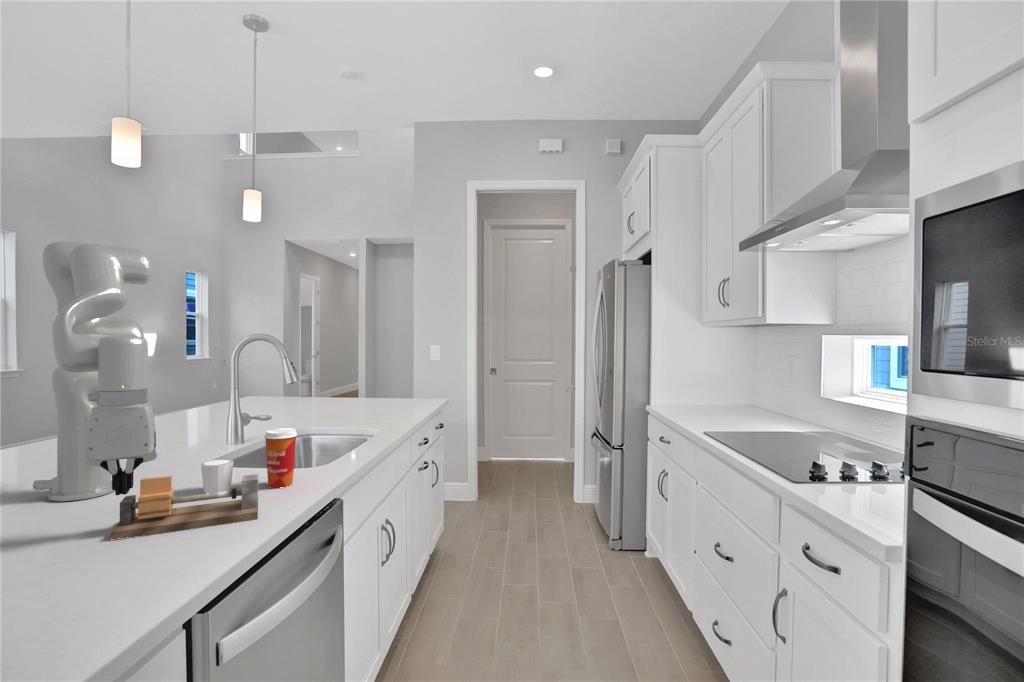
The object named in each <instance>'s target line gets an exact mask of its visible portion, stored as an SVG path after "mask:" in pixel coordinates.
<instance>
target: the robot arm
mask: <svg viewBox="0 0 1024 682" xmlns="http://www.w3.org/2000/svg"><path fill="white" fill-rule="evenodd" d="M42 264H43V265H42V267H43V270H44V273H45V277H46V280H47V281H48V283H49V285H50V287H51V289H52V292H53V293H54V294H53V295H54V296H55V298H56V303H57V315H56V316H55V318H54V320H53V324H52V333H51V334H52V341H53V342H52V343H53V351H54V356H55V357H54V358H55V361H56V364H57V365H58V366H57V367H56V368H55V369H54V371H53V373H52V376H51V377H52V378H51V382H52V383H51V384H52V388H53V394H54V399H55V406H56V423H57V425H56V426H57V427H56V430H57V432H56V437H57V438H56V442H57V443H56V446H57V447H56V451H57V452H56V453H57V454H56V455H57V456H56V460H57V461H56V463H57V464H56V477H55V476H54V477H52V478H51V479H40V480H33V483H32V488H33V490H36V491H41V490H50V491H49V492H48V493H47V499H48V500H49V501H53V502H72V501H80V500H86V499H92V498H97V497H102V496H105V495H108V494H111V493H113V492H115V493H114V495H115V496H120V495H127V494H128V493H129V491H130V490H131V489H133V488H134V471H135V470H136V469H137V468H138V467H139V466H140V465H141V464H144V463H148V462H152V461H155V460H156V459H157V458H158V454H157V453H158V452H157V450H156V448H157V447H156V446H157V432H156V429H157V428H156V423H155V421H156V420H155V415H154V409H153V406H152V404H151V403H148V378H149V377H148V373H149V372H148V370H149V369H148V368H149V367H148V366H149V365H148V361H149V359H148V358H149V347H148V346H149V344H148V341H147V339H146V338H145V334H144V331H143V328H142V327H141V324H140V323H139V322H137V321H136V320H134V319H129V318H114V317H113V318H112V317H111V318H110V317H107V316H110V315H113V314H116V313H118V312H120V311H121V310H123V309H124V308H125V307H126V305H127V303H128V298H129V297H128V295H127V294H128V293H127V291H126V285H127V284H128V285H145V284H146V285H147V284H148V282H149V281H150V280H151V278H152V275H153V265H152V262H151V259H150V257H149V256H148V254H147V253H146V252H145V251H143V250H142V249H139V248H131V247H124V246H118V245H117V246H116V245H109V244H99V243H86V242H80V241H79V242H78V241H55V242H51V243H48V244H47V245H46V246H45V247H44V249H43V253H42ZM125 284H126V285H125ZM120 460H126V463H125V467H124V470H123V468H122V465H121V461H120Z"/></svg>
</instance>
